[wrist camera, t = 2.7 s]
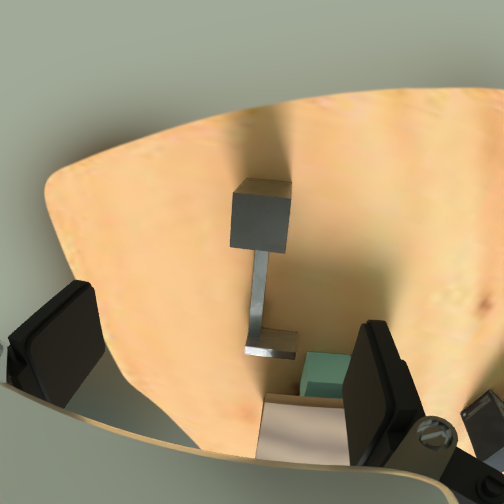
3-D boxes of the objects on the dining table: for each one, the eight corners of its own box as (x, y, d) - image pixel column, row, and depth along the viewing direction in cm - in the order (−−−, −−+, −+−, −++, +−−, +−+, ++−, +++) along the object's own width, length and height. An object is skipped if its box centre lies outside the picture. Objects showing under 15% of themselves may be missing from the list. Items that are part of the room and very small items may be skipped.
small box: (456, 414, 37) (476, 467, 27) (489, 387, 34) (515, 438, 25) (480, 431, 38) (498, 476, 28) (509, 408, 36) (531, 452, 26)
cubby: (273, 337, 34) (264, 402, 25) (386, 346, 33) (406, 408, 24) (263, 404, 39) (254, 465, 30) (360, 411, 37) (368, 470, 29)
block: (307, 350, 35) (307, 381, 30) (350, 354, 34) (356, 384, 30) (300, 382, 37) (299, 412, 32) (340, 385, 36) (343, 415, 32)
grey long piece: (246, 177, 29) (232, 192, 22) (318, 185, 28) (326, 202, 22) (236, 332, 35) (224, 375, 28) (294, 339, 34) (293, 383, 28)
